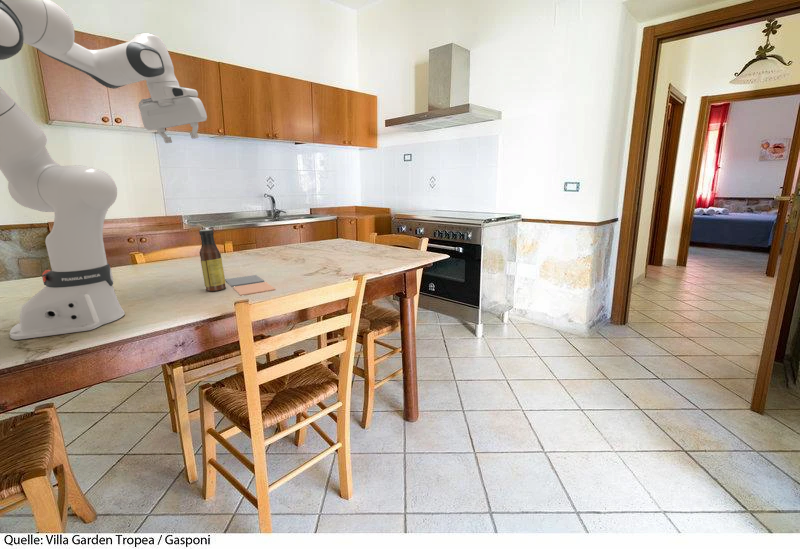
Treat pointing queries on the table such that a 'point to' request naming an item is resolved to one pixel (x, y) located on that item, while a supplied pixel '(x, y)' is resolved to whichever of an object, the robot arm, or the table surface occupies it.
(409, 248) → the table surface
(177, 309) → the table surface
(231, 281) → the slate tile
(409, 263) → the table surface
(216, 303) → the table surface
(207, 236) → the sauce bottle
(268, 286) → the terracotta tile
